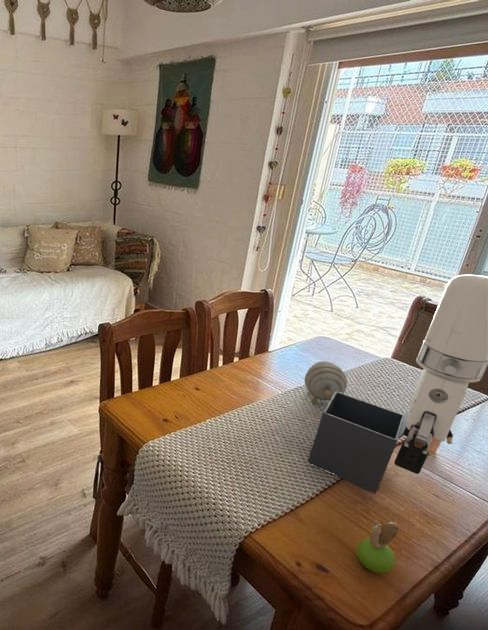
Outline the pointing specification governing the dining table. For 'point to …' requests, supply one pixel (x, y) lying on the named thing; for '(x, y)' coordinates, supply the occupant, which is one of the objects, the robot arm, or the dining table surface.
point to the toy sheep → (325, 380)
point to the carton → (356, 440)
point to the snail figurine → (378, 548)
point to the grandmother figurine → (438, 444)
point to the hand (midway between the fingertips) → (410, 452)
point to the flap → (403, 425)
